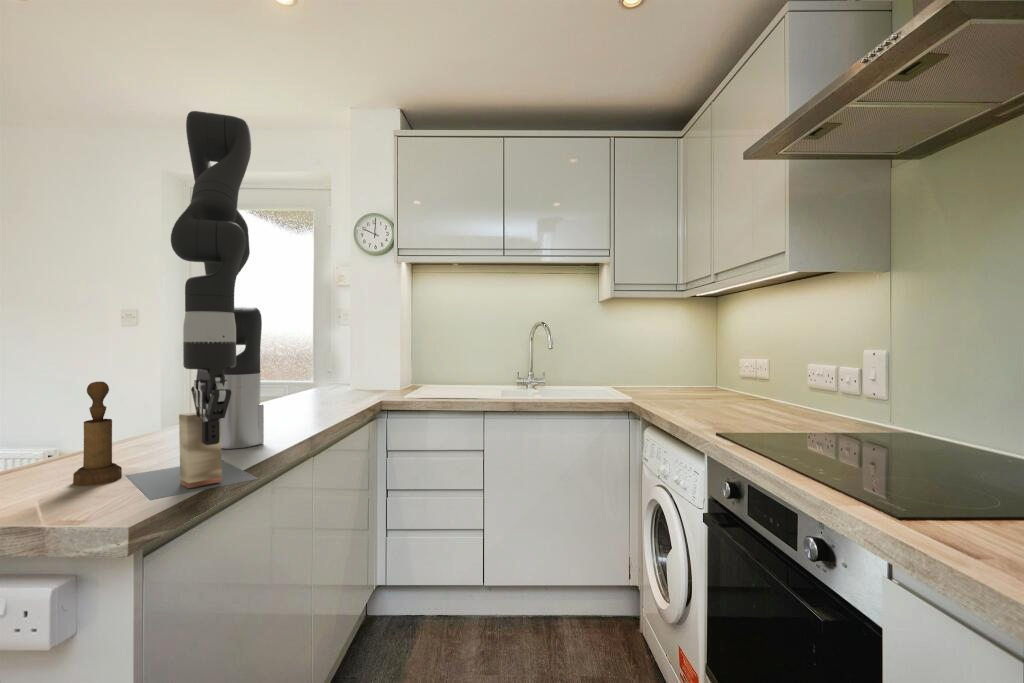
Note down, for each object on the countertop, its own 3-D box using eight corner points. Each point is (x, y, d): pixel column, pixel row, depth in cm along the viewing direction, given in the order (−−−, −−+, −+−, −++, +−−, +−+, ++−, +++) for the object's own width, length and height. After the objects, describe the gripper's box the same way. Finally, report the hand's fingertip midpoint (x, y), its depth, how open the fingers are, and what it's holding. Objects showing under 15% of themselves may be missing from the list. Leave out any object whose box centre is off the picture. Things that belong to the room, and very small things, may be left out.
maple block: (212, 477, 89) (211, 411, 89) (221, 481, 85) (220, 412, 86) (180, 483, 85) (179, 414, 86) (188, 488, 82) (187, 415, 82)
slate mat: (222, 462, 102) (222, 459, 102) (258, 481, 88) (258, 478, 88) (125, 477, 90) (125, 475, 90) (150, 503, 77) (150, 499, 77)
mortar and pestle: (93, 489, 83) (93, 383, 83) (63, 487, 85) (62, 382, 85) (131, 478, 90) (130, 380, 90) (102, 476, 91) (101, 379, 91)
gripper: (249, 339, 80) (249, 445, 80) (222, 340, 89) (222, 435, 89) (196, 339, 75) (196, 453, 75) (173, 340, 84) (173, 442, 84)
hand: (210, 443), depth 82 cm, fingers closed
